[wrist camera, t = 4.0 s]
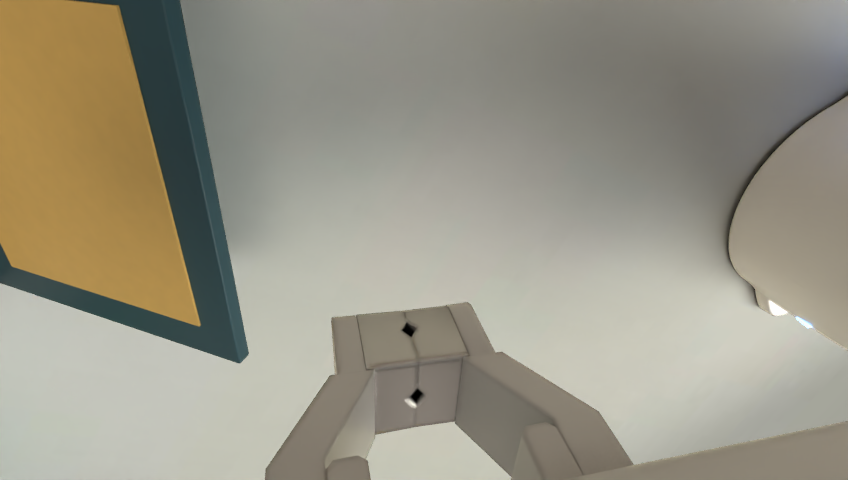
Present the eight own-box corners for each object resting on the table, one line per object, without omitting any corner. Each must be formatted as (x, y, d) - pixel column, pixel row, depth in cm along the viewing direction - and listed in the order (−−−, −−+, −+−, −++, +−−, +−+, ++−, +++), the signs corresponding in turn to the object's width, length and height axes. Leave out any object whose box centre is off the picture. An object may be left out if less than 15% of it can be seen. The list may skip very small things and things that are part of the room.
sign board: (169, -59, 12) (146, -60, 11) (249, 354, 19) (238, 366, 19) (-175, -80, 16) (-204, -81, 15) (1, 272, 23) (-15, 280, 22)
